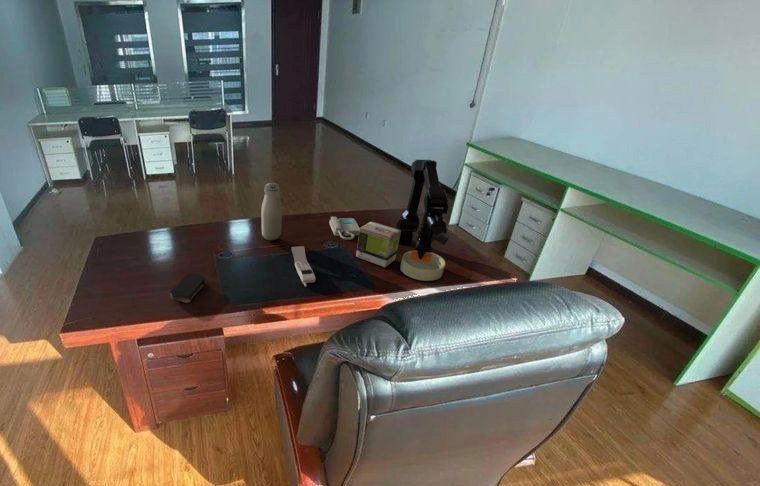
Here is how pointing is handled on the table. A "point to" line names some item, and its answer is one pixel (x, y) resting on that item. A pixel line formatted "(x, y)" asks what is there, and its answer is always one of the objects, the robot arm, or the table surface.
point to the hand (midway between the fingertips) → (420, 257)
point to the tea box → (378, 243)
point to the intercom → (344, 227)
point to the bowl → (422, 267)
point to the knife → (426, 257)
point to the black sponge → (187, 287)
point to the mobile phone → (302, 265)
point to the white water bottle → (271, 212)
